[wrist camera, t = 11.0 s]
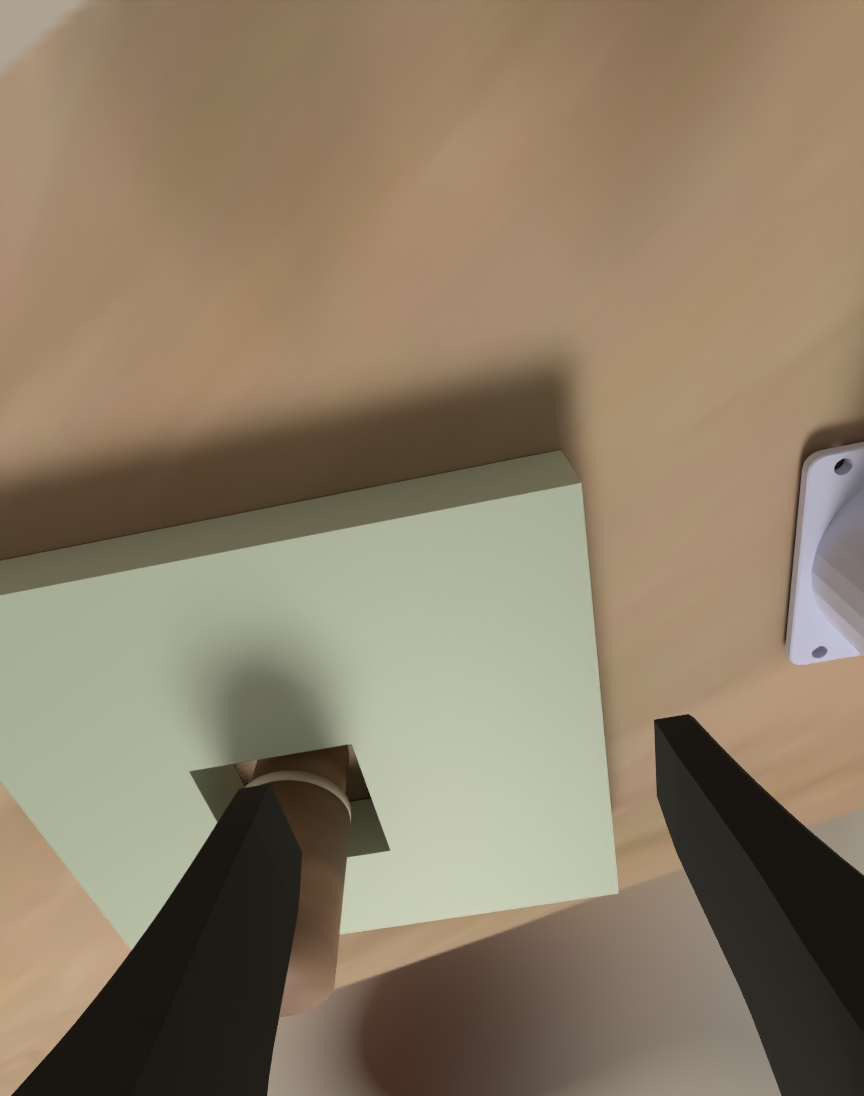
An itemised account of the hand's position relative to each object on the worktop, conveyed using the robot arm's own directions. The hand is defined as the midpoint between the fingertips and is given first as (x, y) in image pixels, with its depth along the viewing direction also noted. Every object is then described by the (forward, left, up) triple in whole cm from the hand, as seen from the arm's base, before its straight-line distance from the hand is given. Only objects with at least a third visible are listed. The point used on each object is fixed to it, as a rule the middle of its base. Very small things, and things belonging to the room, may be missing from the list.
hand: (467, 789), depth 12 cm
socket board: (+6, +7, -9) cm, 13 cm away
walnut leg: (+7, +8, -9) cm, 14 cm away
